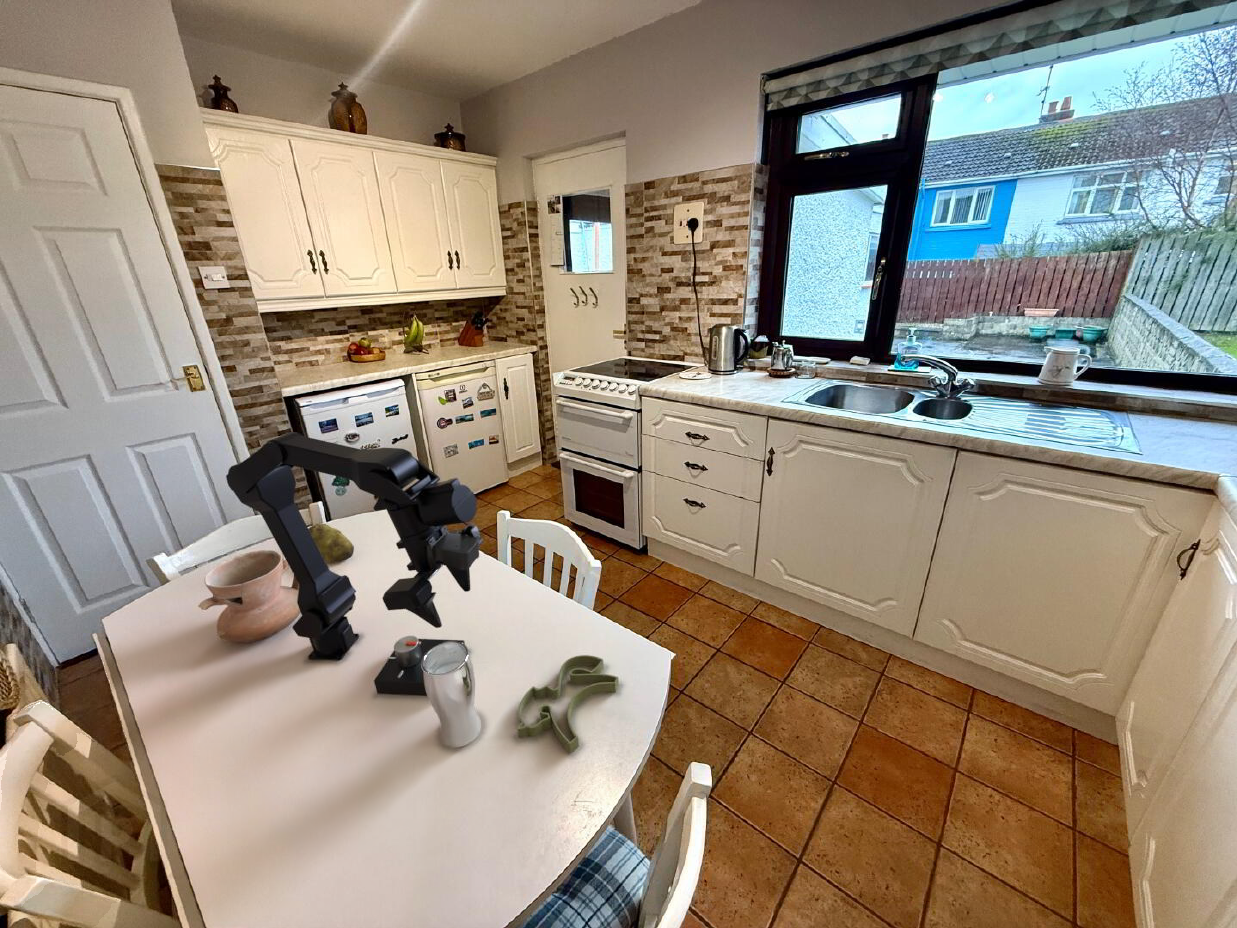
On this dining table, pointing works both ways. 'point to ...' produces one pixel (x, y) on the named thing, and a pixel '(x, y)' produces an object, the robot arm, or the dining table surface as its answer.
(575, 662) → the cookie cutter
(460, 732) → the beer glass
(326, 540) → the potato
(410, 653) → the hob knob
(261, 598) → the ceramic jug
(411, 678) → the hob panel
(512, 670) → the dining table surface
